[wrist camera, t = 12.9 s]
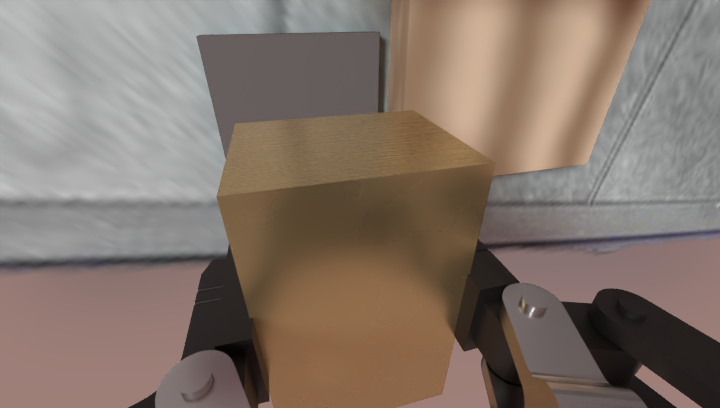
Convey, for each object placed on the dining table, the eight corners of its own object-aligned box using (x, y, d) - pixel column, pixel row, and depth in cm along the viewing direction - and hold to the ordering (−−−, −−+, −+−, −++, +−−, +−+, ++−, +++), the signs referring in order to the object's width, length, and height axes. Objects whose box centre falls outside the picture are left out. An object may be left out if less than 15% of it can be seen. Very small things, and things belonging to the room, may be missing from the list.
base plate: (639, -93, 20) (693, -109, 17) (558, 150, 28) (586, 163, 26) (395, -113, 16) (419, -135, 14) (385, 170, 25) (398, 188, 22)
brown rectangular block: (413, 110, 9) (495, 162, 6) (398, 300, 14) (441, 394, 10) (235, 123, 8) (216, 196, 5) (277, 325, 12) (282, 439, 9)
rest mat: (374, 31, 20) (379, 32, 19) (372, 189, 25) (376, 195, 24) (199, 34, 17) (196, 36, 17) (239, 206, 23) (239, 213, 22)
